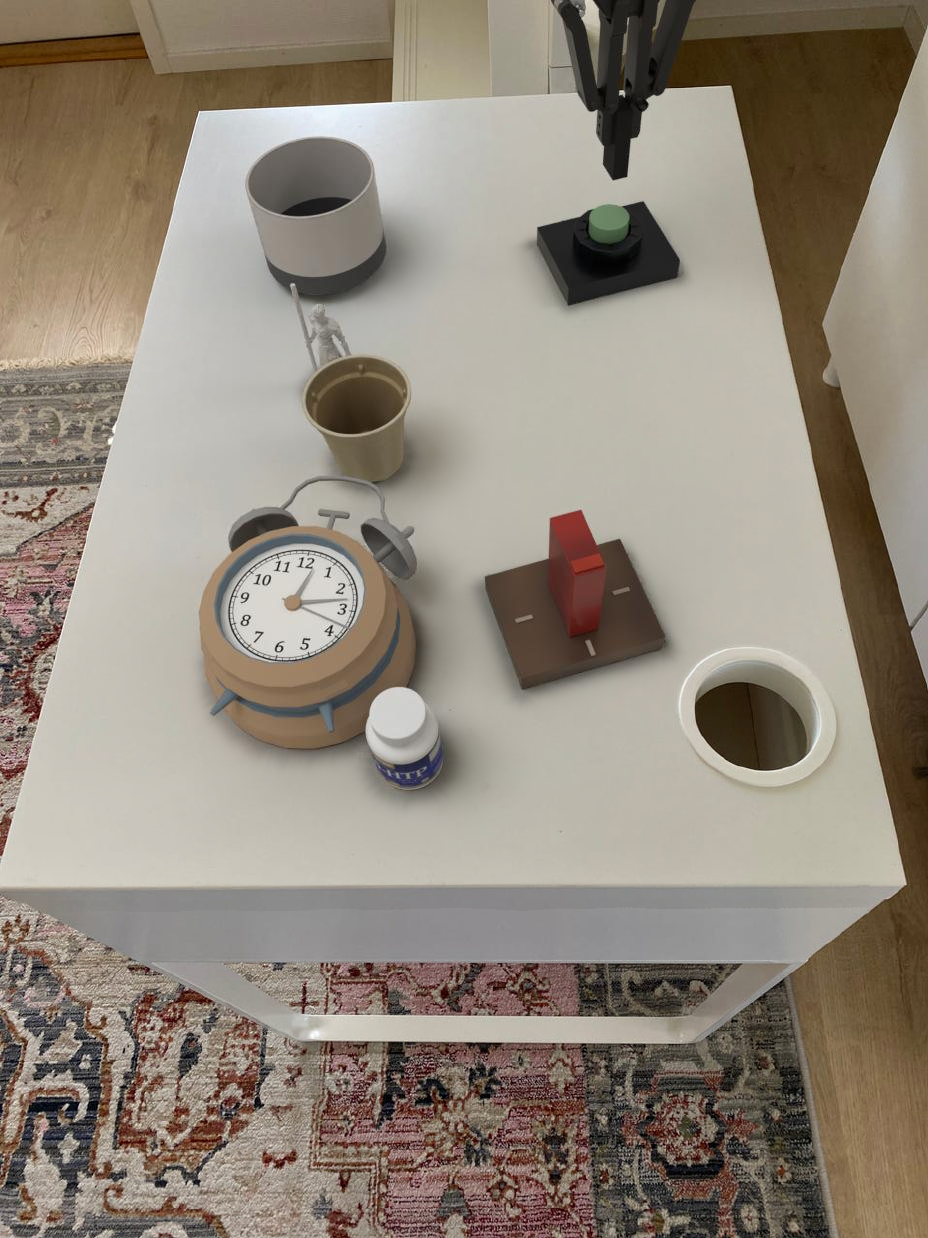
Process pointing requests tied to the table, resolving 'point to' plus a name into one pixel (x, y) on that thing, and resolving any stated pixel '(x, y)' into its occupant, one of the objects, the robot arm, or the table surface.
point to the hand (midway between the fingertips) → (614, 170)
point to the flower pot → (360, 413)
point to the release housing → (606, 256)
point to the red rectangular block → (575, 572)
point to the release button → (608, 224)
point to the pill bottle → (404, 739)
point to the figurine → (321, 333)
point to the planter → (317, 214)
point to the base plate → (541, 630)
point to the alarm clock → (307, 624)
